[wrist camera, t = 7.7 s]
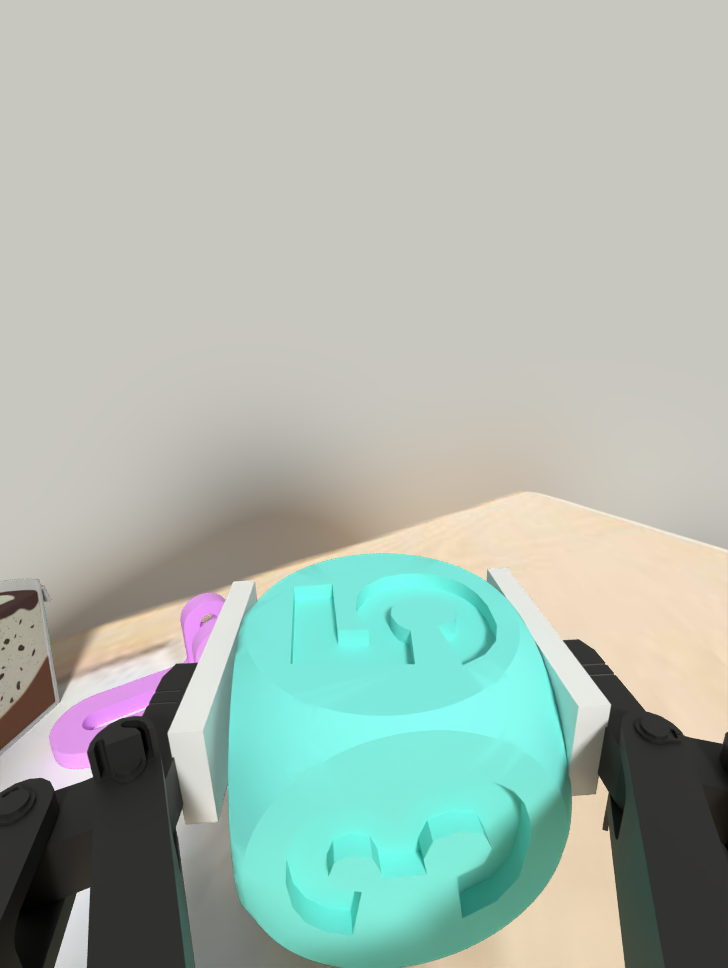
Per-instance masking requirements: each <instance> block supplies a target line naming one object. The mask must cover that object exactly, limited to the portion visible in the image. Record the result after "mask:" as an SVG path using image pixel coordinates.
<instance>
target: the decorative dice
mask: <svg viewBox="0 0 728 968" xmlns="http://www.w3.org/2000/svg"><path fill="white" fill-rule="evenodd" d="M228 801H229V827H230V842H231V855H232V864H233V872H234V879H235V884H236V889H237V893H238V897H239V900H240V902H241V904H242V906H243V907H244V908H245V909H246V910H247V912H248V913H249V914H250V915H251V916H252V917H253V918H254V919H255V921H256V922H257V923H258V924H259V925H260V926H261V927H262V929H263V930H264V931H265V932H266V933H267V934H268V935H269V936H270V937H271V938H272V939H274V940H275V941H276V942H277V943H279V944H280V945H282V946H283V947H285V948H286V949H288V950H290V951H291V952H293V953H295V954H297V955H299V956H302V957H304V958H306V959H309V960H312V961H315V962H318V963H322V964H326V965H330V966H335V967H341V968H401V967H408V966H413V965H418V964H423V963H427V962H430V961H434V960H437V959H441V958H444V957H447V956H449V955H452V954H455V953H457V952H460V951H462V950H464V949H467V948H469V947H471V946H473V945H475V944H477V943H479V942H481V941H483V940H484V939H486V938H488V937H490V936H491V935H493V934H495V933H496V932H498V931H499V930H501V929H502V928H503V927H505V926H506V925H508V924H509V923H510V922H512V921H513V920H514V919H515V918H517V917H518V916H519V915H520V914H521V913H522V912H523V911H524V910H525V909H526V908H527V907H528V906H530V904H531V903H532V902H533V901H534V900H535V899H536V898H537V897H538V896H539V894H540V893H541V892H542V891H543V889H544V888H545V887H546V885H547V884H548V882H549V880H550V879H551V877H552V876H553V874H554V872H555V870H556V868H557V866H558V864H559V862H560V859H561V856H562V853H563V850H564V847H565V844H566V841H567V838H568V834H569V829H570V823H571V810H572V789H571V781H570V777H569V772H568V763H567V755H566V748H565V741H564V736H563V730H562V725H561V720H560V716H559V711H558V707H557V703H556V699H555V695H554V691H553V688H552V684H551V682H550V679H549V676H548V673H547V670H546V667H545V665H544V662H543V659H542V657H541V655H540V652H539V650H538V648H537V645H536V643H535V641H534V639H533V637H532V635H531V633H530V631H529V629H528V627H527V626H526V624H525V622H524V620H523V619H522V617H521V616H520V614H519V613H518V611H517V610H516V609H515V607H514V606H513V605H512V604H511V602H510V601H509V600H508V599H507V598H506V597H505V596H504V595H502V594H501V593H500V592H499V591H498V590H497V589H496V588H494V587H493V586H492V585H490V584H489V583H488V582H486V581H485V580H483V579H482V578H480V577H478V576H477V575H475V574H473V573H471V572H469V571H467V570H465V569H462V568H460V567H457V566H455V565H452V564H449V563H446V562H442V561H439V560H435V559H431V558H426V557H420V556H414V555H405V554H389V553H377V554H361V555H352V556H345V557H340V558H335V559H331V560H327V561H323V562H320V563H317V564H314V565H311V566H308V567H306V568H303V569H301V570H299V571H297V572H295V573H293V574H291V575H289V576H287V577H285V578H284V579H282V580H281V581H279V582H278V583H276V584H275V585H274V586H272V587H271V588H270V589H269V590H268V591H267V592H266V593H265V594H264V595H263V596H262V597H261V598H260V599H259V600H258V601H257V602H256V603H255V604H254V605H253V606H252V607H251V608H250V609H249V611H248V612H247V613H246V614H245V616H244V619H243V621H242V625H241V628H240V632H239V637H238V642H237V648H236V655H235V662H234V670H233V680H232V690H231V704H230V721H229V750H228Z"/></svg>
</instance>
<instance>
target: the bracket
mask: <svg viewBox="0 0 728 968" xmlns="http://www.w3.org/2000/svg"><path fill="white" fill-rule="evenodd" d="M224 602H225V599H224V598H223V597H222V596H220V595H218V594H215V593H204V594H200V595H198V596H196V597H194V598H192V599H191V600H190V601H189V602H188V603H187V604H186V605H185V607H184V608H183V610H182V613H181V626H182V631H183V637H184V643H185V648H186V654H187V659H186V661H185V662H184V663H198V662H199V660H200V657H201V655H202V653H203V651H204V648H205V646H206V644H207V641H208V639H209V637H210V634H211V632H212V630H213V628H214V625H215V623H216V621H217V618H218V616H219V614H220V611H221V609H222V607H223V605H224ZM209 614H213V617H212V618H211V619H210V620H209V621H207V622H201V620H202V618H203V617H205V616H206V615H209ZM182 664H183V663H182ZM171 668H172V667H171ZM171 668H169V669H166V670H163V671H160V672H157V673H155V674H152V675H149V676H146V677H144V678H141V679H138V680H135V681H132V682H130V683H127V684H124V685H121V686H118V687H116V688H113V689H110V690H107V691H104V692H102V693H99V694H96V695H94V696H91V697H89V698H87V699H85V700H83V701H81V702H79V703H78V704H76V705H74V706H73V707H72V708H70V709H69V710H68V711H66V712H65V713H64V714H63V715H62V716H61V717H60V718H59V719H58V721H57V722H56V723H55V725H54V726H53V728H52V730H51V733H50V744H51V748H52V751H53V754H54V758H55V760H56V762H57V763H58V764H59V765H61V766H62V767H65V768H68V769H84V768H89V767H90V763H89V759H88V756H87V750H88V747H89V744H90V742H91V741H92V740H93V738H94V737H95V736H96V735H97V733H98V732H100V731H101V730H102V729H104V728H105V727H106V726H108V725H109V724H108V725H105V726H103V727H100V728H98V729H94V728H95V727H97V726H99V725H101V724H103V723H106V722H109V721H111V720H114V719H116V718H119V717H121V716H124V715H127V714H129V713H132V712H134V711H137V710H139V709H142V708H145V707H147V706H149V702H150V700H151V698H152V696H153V694H155V690H156V688H157V686H158V685H159V683H160V681H161V679H162V677H163V676H164V675H165V674H166V673H167V672H168V671H169V670H170V669H171ZM144 711H145V710H144ZM144 711H141V712H139V713H136V714H134V715H131V716H142V715H143V713H144ZM131 716H128V717H131ZM92 729H94V730H92Z"/></svg>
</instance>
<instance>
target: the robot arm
mask: <svg viewBox="0 0 728 968" xmlns="http://www.w3.org/2000/svg"><path fill="white" fill-rule="evenodd" d="M487 582H488V583H489V584H490V585H492V586H493V587H494V588H496V589H497V590H498V591H499V592H500V593H501V594H502V595H504V596H505V597H506V598H507V599H508V600H509V601H510V602H511V604H512V605H513V606H514V607H515V609H516V610H517V611H518V613H519V614H520V616H521V617H522V619H523V620H524V622H525V624H526V626H527V627H528V629H529V631H530V633H531V635H532V637H533V639H534V641H535V643H536V645H537V648H538V650H539V652H540V655H541V657H542V659H543V662H544V665H545V667H546V670H547V673H548V676H549V679H550V682H551V684H552V688H553V691H554V695H555V699H556V703H557V707H558V711H559V716H560V720H561V725H562V730H563V736H564V741H565V748H566V755H567V763H568V772H569V777H570V781H571V789H572V796H577V795H591V794H596V790H597V784H598V778H599V776H600V778H601V780H602V781H603V783H604V785H605V786H606V788H607V790H608V791H609V794H608V800H607V805H606V811H605V816H604V822H603V829H602V830H606V831H608V827H609V830H610V839H611V848H612V856H613V865H614V874H615V882H616V891H617V900H618V908H619V917H620V926H621V934H622V943H623V952H624V960H625V968H728V732H727V733H726V734H725V737H724V741H723V744H721V743H715V742H710V741H705V740H700V739H695V738H690V737H686V736H684V735H683V733H682V732H681V731H680V730H679V729H678V728H677V727H676V726H675V725H674V724H673V723H671V722H670V721H668V720H666V719H664V718H663V717H661V716H658V715H656V714H653V713H650V712H646V711H645V710H644V709H643V707H642V706H641V705H640V704H639V703H638V701H637V700H636V699H635V698H634V697H633V695H632V694H631V693H630V692H629V691H628V689H627V688H626V687H625V686H624V685H623V683H622V682H621V681H620V680H619V679H618V677H617V676H616V675H614V673H613V671H612V670H611V669H610V668H609V667H608V665H605V662H604V661H603V659H602V658H601V657H600V656H599V655H598V654H597V652H596V651H595V650H594V649H592V648H591V647H589V646H588V645H586V644H585V643H583V642H582V641H580V640H579V639H577V640H562V639H561V638H560V636H559V635H558V634H557V632H556V631H555V630H554V628H553V627H552V626H551V624H550V623H549V622H548V620H547V619H546V618H545V616H544V615H543V614H542V613H541V611H540V610H539V609H538V607H537V606H536V605H535V603H534V602H533V601H532V599H531V598H530V597H529V595H528V594H527V593H526V591H525V590H524V589H523V587H522V586H521V585H520V583H519V582H518V581H517V579H516V578H515V577H514V575H513V574H512V573H511V571H510V570H509V569H508V568H497V569H487ZM256 602H257V595H256V586H255V581H237V582H233V584H232V586H231V588H230V591H229V593H228V595H227V598H226V600H225V602H224V605H223V607H222V609H221V611H220V614H219V616H218V618H217V621H216V623H215V625H214V628H213V630H212V632H211V634H210V637H209V639H208V641H207V644H206V646H205V648H204V651H203V653H202V655H201V657H200V660H199V662H198V663H183V664H176V665H175V666H173V667H172V668H171V669H170V670H169V671H168V672H167V673H166V674H165V675H164V676H163V677H162V679H161V681H160V683H159V685H158V686H157V688H156V690H155V694H153V696H152V698H151V700H150V702H149V706H147V708H146V709H145V711H144V713H143V715H142V716H131V717H126V718H122V719H119V720H117V721H115V722H113V723H111V724H109V725H108V726H106V727H105V728H104V729H102V730H101V731H100V732H98V733H97V735H96V736H95V737H94V738H93V740H92V741H91V742H90V744H89V747H88V750H87V756H88V759H89V763H90V767H91V770H92V774H93V778H90V779H88V780H85V781H83V782H80V783H77V784H74V785H71V786H68V787H65V788H62V789H59V790H56V791H54V788H53V786H52V784H51V782H50V781H48V780H45V779H43V778H35V779H28V780H25V781H22V782H19V783H16V784H14V785H12V786H11V787H9V788H7V789H5V790H4V791H2V792H0V968H54V966H55V963H56V959H57V956H58V953H59V950H60V946H61V943H62V940H63V936H64V933H65V930H66V927H67V923H68V920H69V917H70V913H71V910H72V907H73V904H74V900H75V897H76V894H77V892H80V891H82V890H84V889H87V888H89V887H90V908H89V932H88V956H87V968H195V963H194V956H193V948H192V941H191V933H190V926H189V918H188V911H187V903H186V896H185V888H184V881H183V873H182V866H181V858H180V851H179V843H178V837H177V832H176V825H177V822H178V819H179V816H180V813H181V810H182V809H183V814H184V819H185V824H198V823H211V822H218V820H219V816H220V812H221V808H222V804H223V800H224V796H225V792H226V788H227V784H228V750H229V721H230V704H231V690H232V680H233V670H234V662H235V655H236V648H237V642H238V637H239V632H240V628H241V625H242V621H243V619H244V616H245V614H246V613H247V612H248V611H249V609H250V608H251V607H252V606H253V605H254V604H255V603H256Z"/></svg>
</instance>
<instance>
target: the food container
mask: <svg viewBox="0 0 728 968" xmlns="http://www.w3.org/2000/svg"><path fill="white" fill-rule="evenodd" d="M51 600H52V599H51V597H50V595H49V594H48V592H47V590H46V588H45V586H43V585H41V584H40V581H39V579H15V580H6V581H0V756H1V755H2V754H3V753H4V752H5V751H6V750H7V749H8V748H9V747H11V746H12V745H13V744H14V743H15V742H16V741H17V740H18V739H20V738H21V737H22V736H23V735H24V734H25V733H26V732H27V731H28V730H30V729H31V728H32V727H33V726H34V725H35V724H36V723H37V722H39V721H40V720H41V719H42V718H43V717H44V716H45V715H46V714H47V713H49V712H50V711H51V710H52V709H53V708H54V707H55V706H56V705H58V704H59V703H60V699H59V693H58V687H57V681H56V675H55V669H54V663H53V656H52V650H51V644H50V638H49V632H48V626H47V620H46V613H45V607H44V601H46V602H50V601H51Z"/></svg>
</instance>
